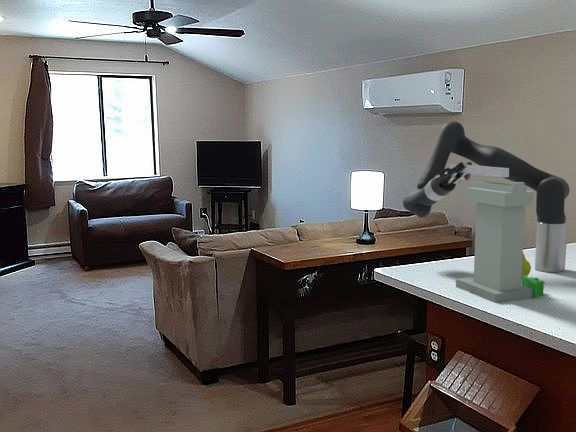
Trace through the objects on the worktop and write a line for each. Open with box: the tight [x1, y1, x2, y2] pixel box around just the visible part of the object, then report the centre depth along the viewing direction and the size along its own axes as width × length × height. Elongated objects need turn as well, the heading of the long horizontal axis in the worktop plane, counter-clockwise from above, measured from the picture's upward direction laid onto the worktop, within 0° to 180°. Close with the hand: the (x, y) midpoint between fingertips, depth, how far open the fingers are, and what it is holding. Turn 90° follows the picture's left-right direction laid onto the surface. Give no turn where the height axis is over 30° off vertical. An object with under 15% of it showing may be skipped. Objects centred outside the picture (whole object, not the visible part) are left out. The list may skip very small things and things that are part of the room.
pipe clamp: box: [521, 275, 545, 299], centre depth 179 cm, size 11×4×5 cm, turn 177°
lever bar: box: [449, 163, 509, 178], centre depth 186 cm, size 3×26×3 cm, turn 20°
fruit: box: [522, 252, 532, 277], centre depth 198 cm, size 7×7×12 cm
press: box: [455, 180, 534, 303], centre depth 179 cm, size 14×19×35 cm
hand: (466, 164), depth 191 cm, fingers closed on lever bar, 2 cm apart
